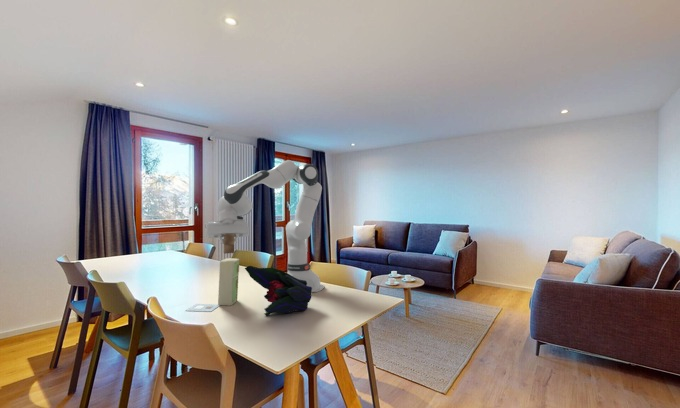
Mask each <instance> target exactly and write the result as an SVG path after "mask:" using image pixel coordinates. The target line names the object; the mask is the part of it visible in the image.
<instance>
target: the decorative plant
mask: <svg viewBox="0 0 680 408" xmlns="http://www.w3.org/2000/svg"><path fill="white" fill-rule="evenodd" d="M244 269H245V271H246V272H247V274H248V275H249V276H250V278H251V279H253V281H255V282H256V283H257V284H259V285H260V286H261V287H263V288H264V289H265V290H267V291H266V294H264V295H263V297H264V299H265V300H267V302H269V303H270V304H269V305H267V307H264V311H265V313H263V314H264V315H265V316H269V315H272V314H274V313H275V314H278V315H283V314H284V315H285V314H289V313H293V312H297V311H300V312H305V311H307V310H308V305H309V303H310V301H311V299H312V293H313V292H312V287H310V286H306V285H307V282H306V281H305V280H299V279H297V278H295V277H293V276H291V275H290V274H288V272H287V271H283V270H281V269H278V268H274V267H256V266H253V265H248V266H246V267H244Z"/></svg>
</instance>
